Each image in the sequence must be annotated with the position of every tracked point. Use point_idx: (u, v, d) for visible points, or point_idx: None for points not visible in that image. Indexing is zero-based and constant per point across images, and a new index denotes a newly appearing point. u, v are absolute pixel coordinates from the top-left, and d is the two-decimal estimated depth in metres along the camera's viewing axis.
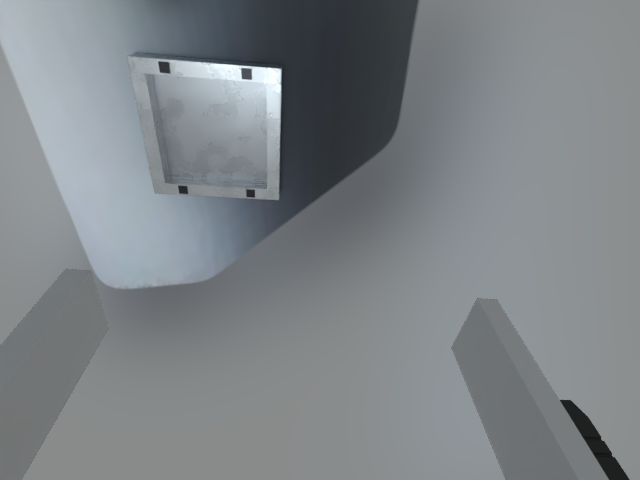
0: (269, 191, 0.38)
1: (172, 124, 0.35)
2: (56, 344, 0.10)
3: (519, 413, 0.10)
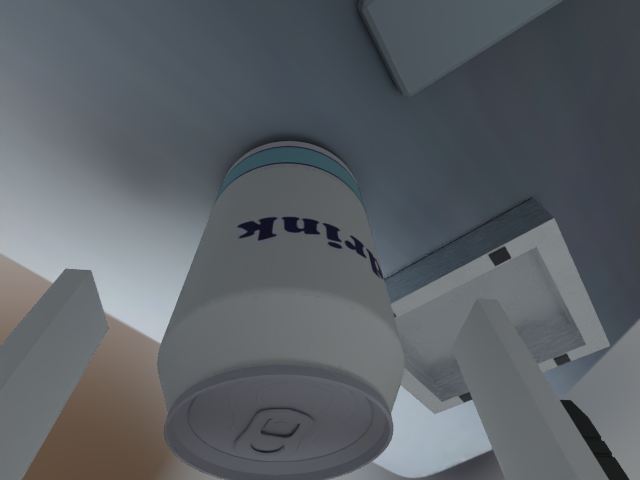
0: (590, 345, 0.24)
1: (413, 341, 0.25)
2: (56, 344, 0.10)
3: (519, 413, 0.10)
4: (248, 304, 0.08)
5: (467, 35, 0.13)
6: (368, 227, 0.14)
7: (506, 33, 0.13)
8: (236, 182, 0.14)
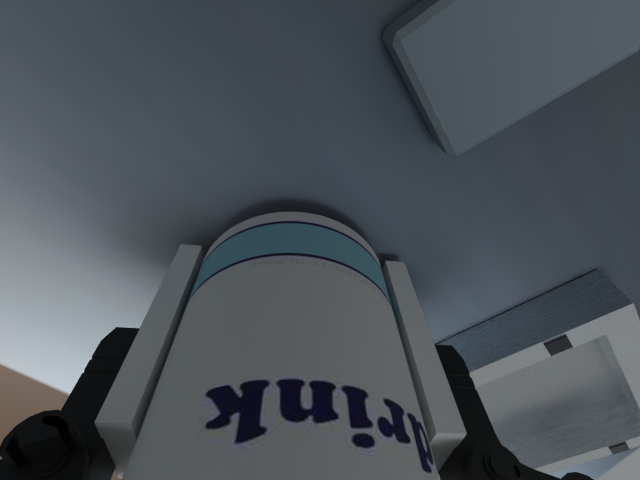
0: None
1: None
2: (186, 305, 0.12)
3: None
4: None
5: (543, 75, 0.09)
6: (401, 346, 0.10)
7: (599, 71, 0.09)
8: (215, 281, 0.10)
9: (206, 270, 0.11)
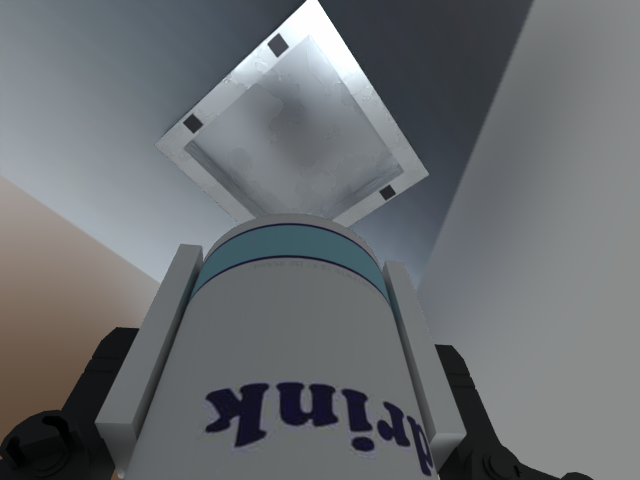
0: (409, 172, 0.25)
1: (251, 180, 0.26)
2: (186, 305, 0.12)
3: None
4: None
5: None
6: (400, 349, 0.10)
7: None
8: (215, 284, 0.10)
9: (206, 272, 0.11)
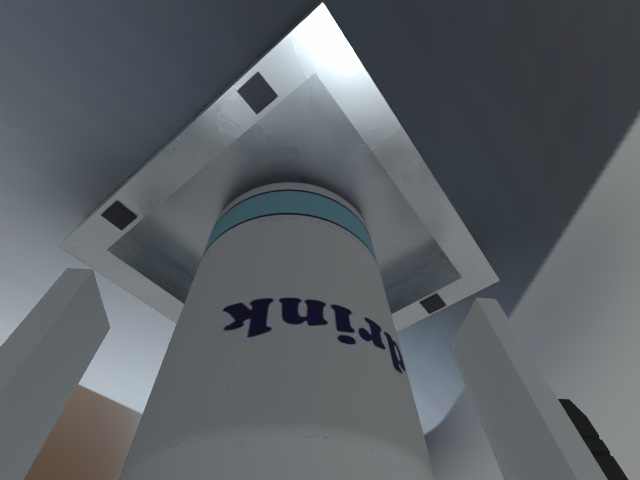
0: (469, 278, 0.16)
1: None
2: (58, 343, 0.10)
3: (517, 412, 0.10)
4: (230, 452, 0.06)
5: None
6: (383, 291, 0.11)
7: None
8: (226, 236, 0.12)
9: (217, 231, 0.13)
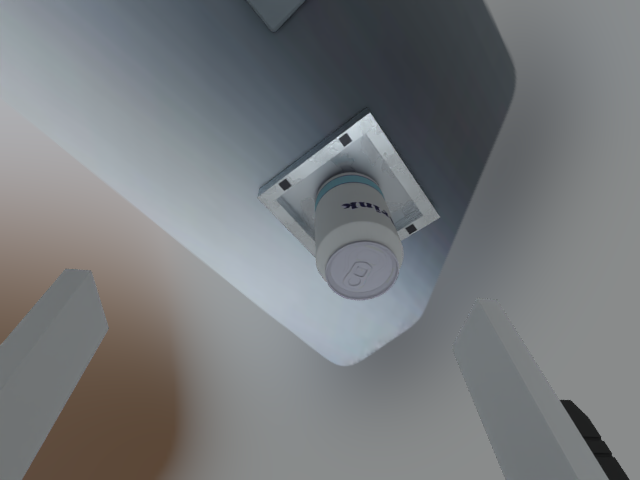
0: (426, 216, 0.36)
1: None
2: (56, 344, 0.10)
3: (519, 413, 0.10)
4: (354, 225, 0.26)
5: None
6: (388, 210, 0.32)
7: None
8: (332, 190, 0.32)
9: (325, 189, 0.33)
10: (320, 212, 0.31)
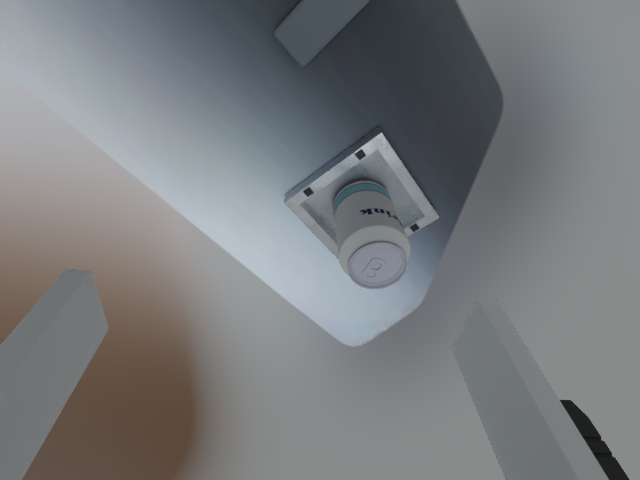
0: (427, 216, 0.42)
1: (332, 219, 0.44)
2: (56, 344, 0.10)
3: (519, 413, 0.10)
4: (371, 228, 0.32)
5: (318, 37, 0.32)
6: None
7: (334, 33, 0.32)
8: (349, 197, 0.38)
9: (343, 196, 0.39)
10: (340, 216, 0.37)
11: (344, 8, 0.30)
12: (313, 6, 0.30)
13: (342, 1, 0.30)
